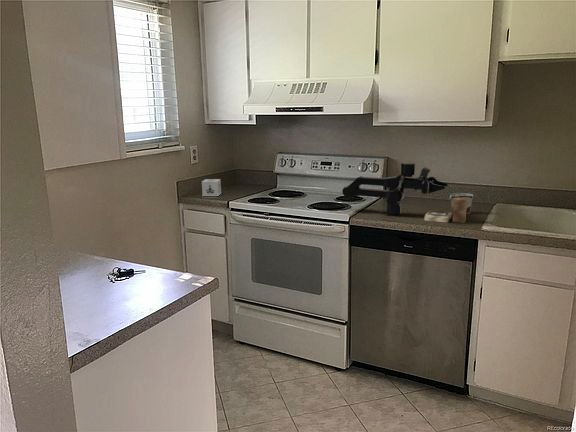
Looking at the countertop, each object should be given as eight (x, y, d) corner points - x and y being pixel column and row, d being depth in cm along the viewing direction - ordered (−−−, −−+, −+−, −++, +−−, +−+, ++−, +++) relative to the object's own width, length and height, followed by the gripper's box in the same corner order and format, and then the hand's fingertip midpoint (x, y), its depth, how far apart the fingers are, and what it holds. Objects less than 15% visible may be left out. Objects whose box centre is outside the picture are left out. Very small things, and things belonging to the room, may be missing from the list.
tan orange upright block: (452, 221, 230) (453, 199, 227) (453, 219, 234) (455, 197, 232) (464, 222, 227) (465, 200, 225) (465, 220, 232) (467, 198, 230)
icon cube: (206, 194, 310) (205, 179, 308) (221, 194, 310) (220, 179, 307) (202, 197, 301) (201, 181, 298) (218, 197, 300) (217, 181, 298)
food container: (467, 211, 252) (469, 192, 249) (472, 213, 246) (474, 194, 243) (445, 211, 251) (446, 193, 249) (449, 214, 245) (450, 195, 243)
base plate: (424, 220, 233) (424, 213, 232) (428, 215, 242) (428, 209, 242) (447, 222, 228) (448, 215, 227) (451, 217, 238) (451, 211, 237)
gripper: (410, 170, 228) (444, 172, 221) (418, 165, 244) (450, 167, 237) (409, 193, 230) (442, 195, 224) (417, 186, 247) (448, 189, 240)
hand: (446, 186), depth 231 cm, fingers open, 9 cm apart
